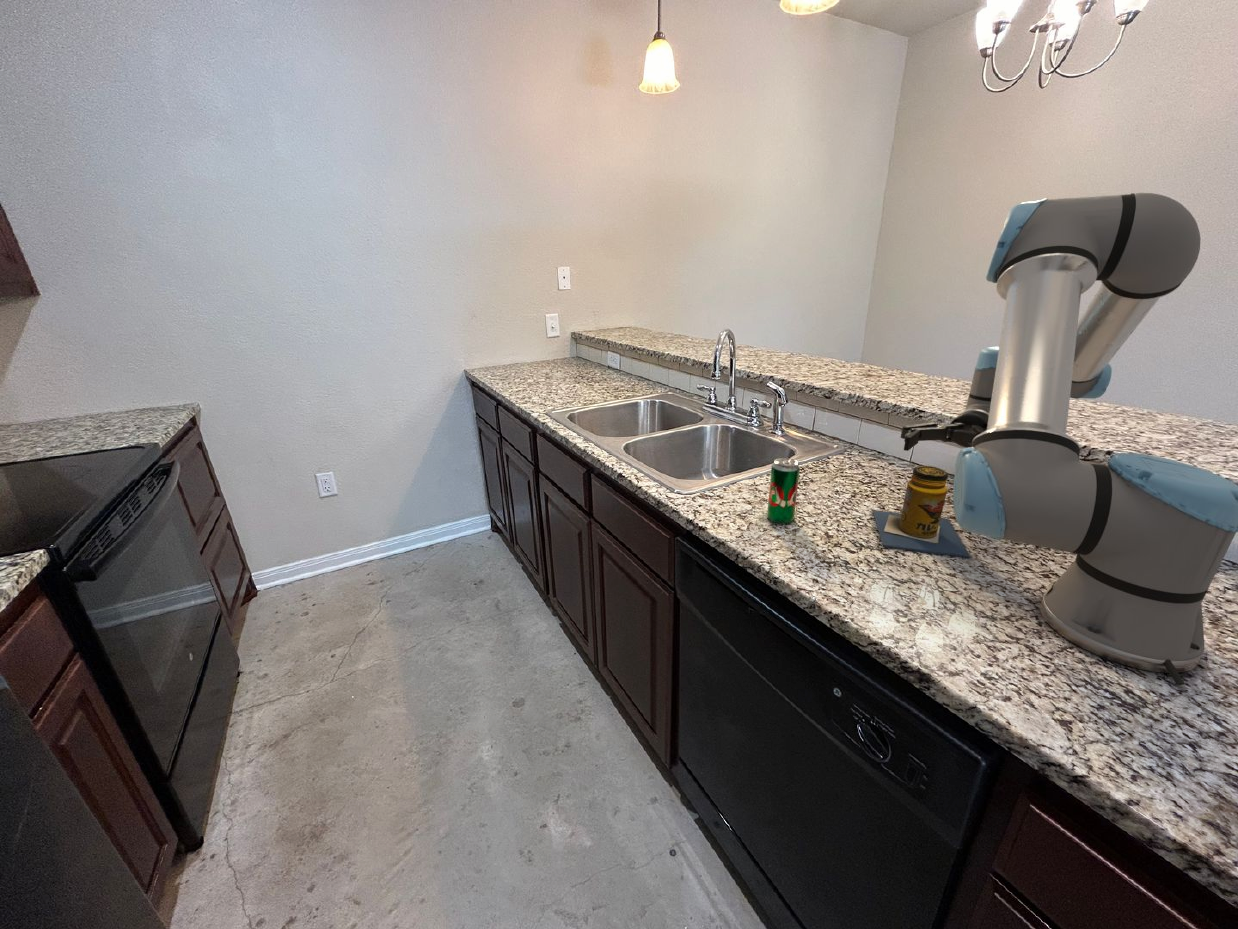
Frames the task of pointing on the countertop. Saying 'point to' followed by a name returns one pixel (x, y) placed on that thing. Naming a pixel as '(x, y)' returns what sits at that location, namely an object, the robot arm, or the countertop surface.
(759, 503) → the countertop surface
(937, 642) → the countertop surface
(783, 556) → the countertop surface
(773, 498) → the soda can
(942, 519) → the blue mat
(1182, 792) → the countertop surface
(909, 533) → the condiment
